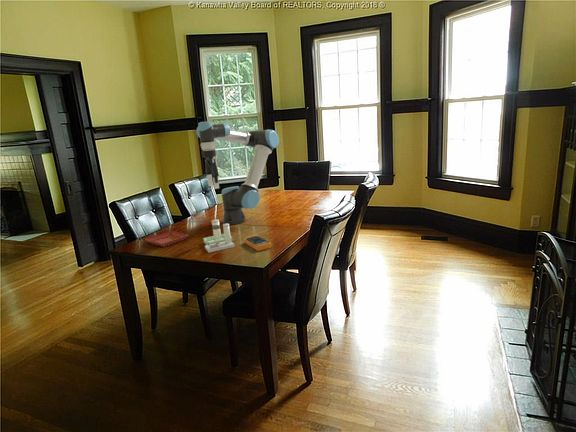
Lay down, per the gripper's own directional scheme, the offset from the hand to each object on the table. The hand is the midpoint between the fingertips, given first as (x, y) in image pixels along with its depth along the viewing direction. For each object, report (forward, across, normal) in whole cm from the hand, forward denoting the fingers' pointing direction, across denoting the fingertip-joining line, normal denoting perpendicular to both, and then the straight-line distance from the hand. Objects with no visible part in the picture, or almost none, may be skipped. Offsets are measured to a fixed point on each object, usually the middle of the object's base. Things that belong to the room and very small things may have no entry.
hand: (213, 187), depth 216 cm
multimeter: (+29, +33, +11) cm, 46 cm away
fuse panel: (+29, +24, -7) cm, 38 cm away
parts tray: (+29, +14, -5) cm, 32 cm away
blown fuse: (+28, +14, -5) cm, 32 cm away
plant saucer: (+29, -9, -29) cm, 42 cm away
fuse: (+29, +24, -2) cm, 37 cm away
